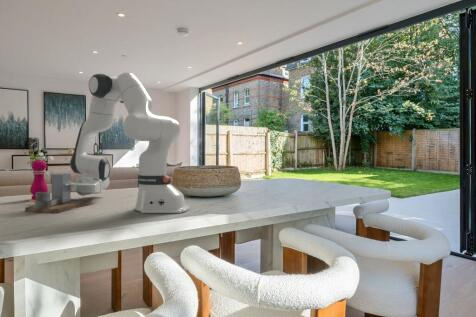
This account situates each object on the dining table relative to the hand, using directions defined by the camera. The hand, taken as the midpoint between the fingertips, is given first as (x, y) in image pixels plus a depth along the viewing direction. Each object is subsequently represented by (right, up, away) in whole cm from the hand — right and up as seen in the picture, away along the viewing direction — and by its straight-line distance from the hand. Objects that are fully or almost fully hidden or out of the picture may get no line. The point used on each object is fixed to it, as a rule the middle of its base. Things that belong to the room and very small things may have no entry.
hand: (65, 189), depth 140 cm
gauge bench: (-1, -7, -3) cm, 8 cm away
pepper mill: (-20, -6, +15) cm, 26 cm away
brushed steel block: (-1, -5, -5) cm, 7 cm away
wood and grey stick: (-5, -6, -10) cm, 12 cm away
